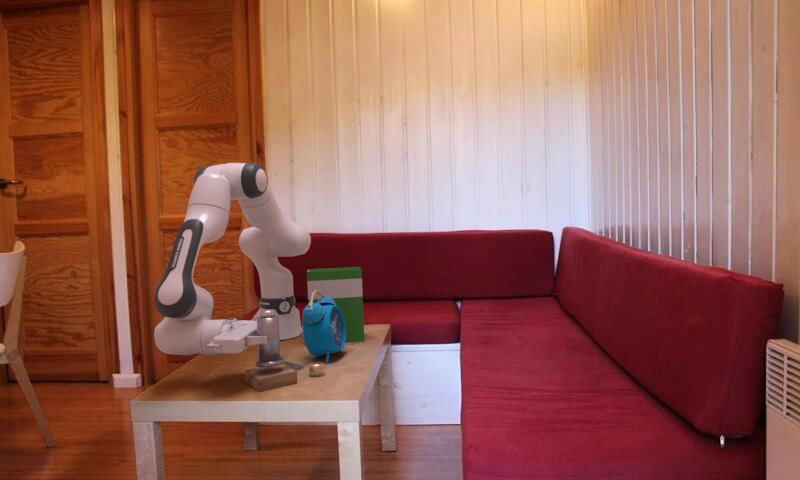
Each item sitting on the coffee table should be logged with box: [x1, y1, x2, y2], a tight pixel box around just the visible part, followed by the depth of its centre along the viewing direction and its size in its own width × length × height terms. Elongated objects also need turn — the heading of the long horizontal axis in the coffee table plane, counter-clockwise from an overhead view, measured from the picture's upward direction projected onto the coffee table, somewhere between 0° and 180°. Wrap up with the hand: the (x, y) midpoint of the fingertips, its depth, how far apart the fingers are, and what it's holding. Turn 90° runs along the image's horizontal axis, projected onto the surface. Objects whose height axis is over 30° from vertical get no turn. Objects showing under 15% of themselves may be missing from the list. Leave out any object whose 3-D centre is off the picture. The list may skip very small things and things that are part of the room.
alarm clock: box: [301, 290, 346, 364], centre depth 160 cm, size 17×10×20 cm, turn 168°
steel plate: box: [283, 361, 305, 371], centre depth 150 cm, size 8×6×1 cm
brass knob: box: [308, 361, 325, 378], centre depth 143 cm, size 4×4×3 cm
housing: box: [254, 309, 285, 368], centre depth 137 cm, size 7×7×14 cm
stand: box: [244, 364, 298, 393], centre depth 138 cm, size 10×10×3 cm
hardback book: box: [306, 266, 365, 344], centre depth 179 cm, size 18×7×24 cm, turn 99°
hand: (271, 336), depth 137 cm, fingers closed on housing, 5 cm apart
